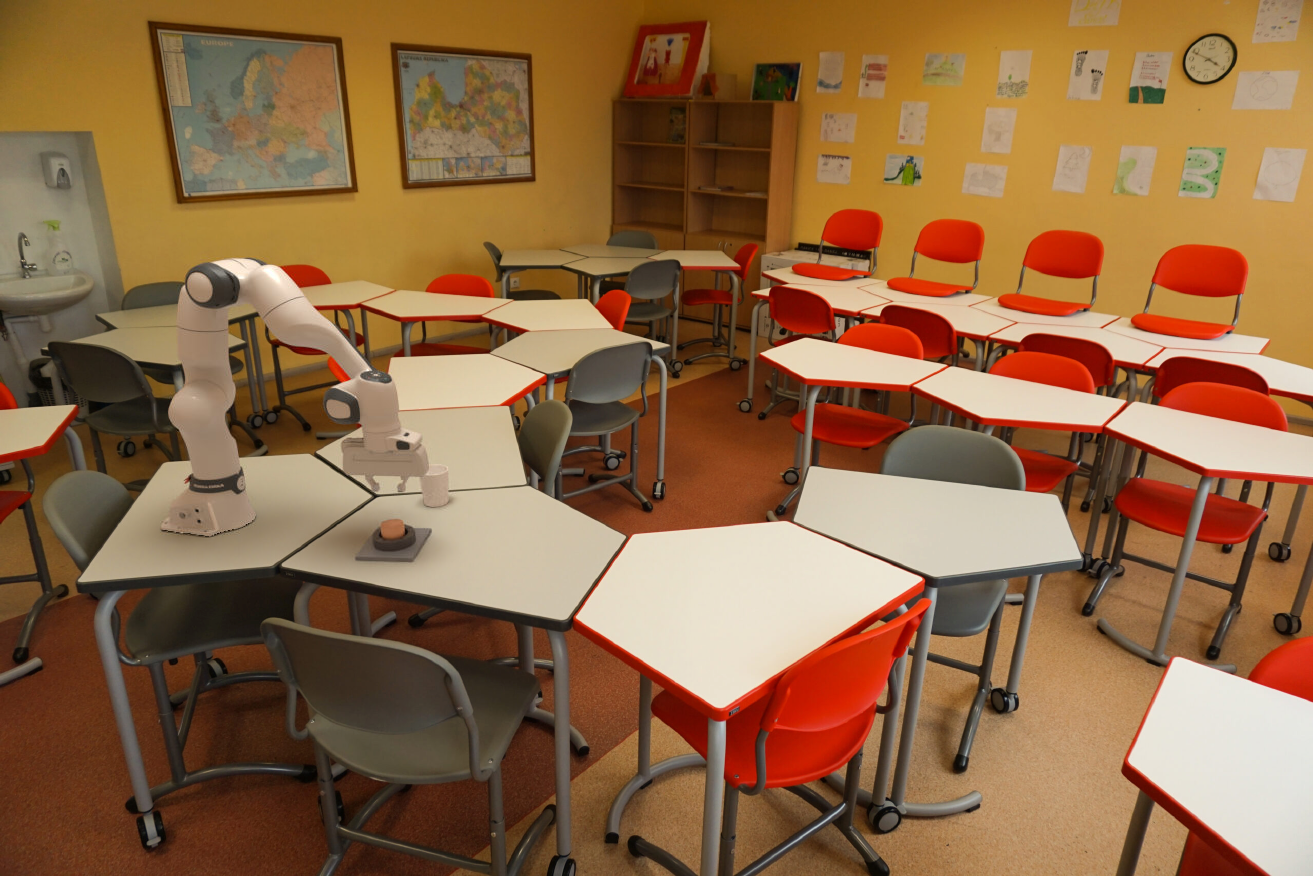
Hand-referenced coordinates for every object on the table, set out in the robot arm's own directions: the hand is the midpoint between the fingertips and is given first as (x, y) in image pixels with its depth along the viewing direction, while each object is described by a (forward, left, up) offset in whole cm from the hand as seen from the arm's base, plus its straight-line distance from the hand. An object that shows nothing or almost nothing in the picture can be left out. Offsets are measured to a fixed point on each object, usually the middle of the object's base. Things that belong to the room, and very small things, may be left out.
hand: (388, 491), depth 199 cm
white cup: (+3, +26, -15) cm, 30 cm away
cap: (0, 0, -14) cm, 14 cm away
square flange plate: (0, 0, -15) cm, 15 cm away
